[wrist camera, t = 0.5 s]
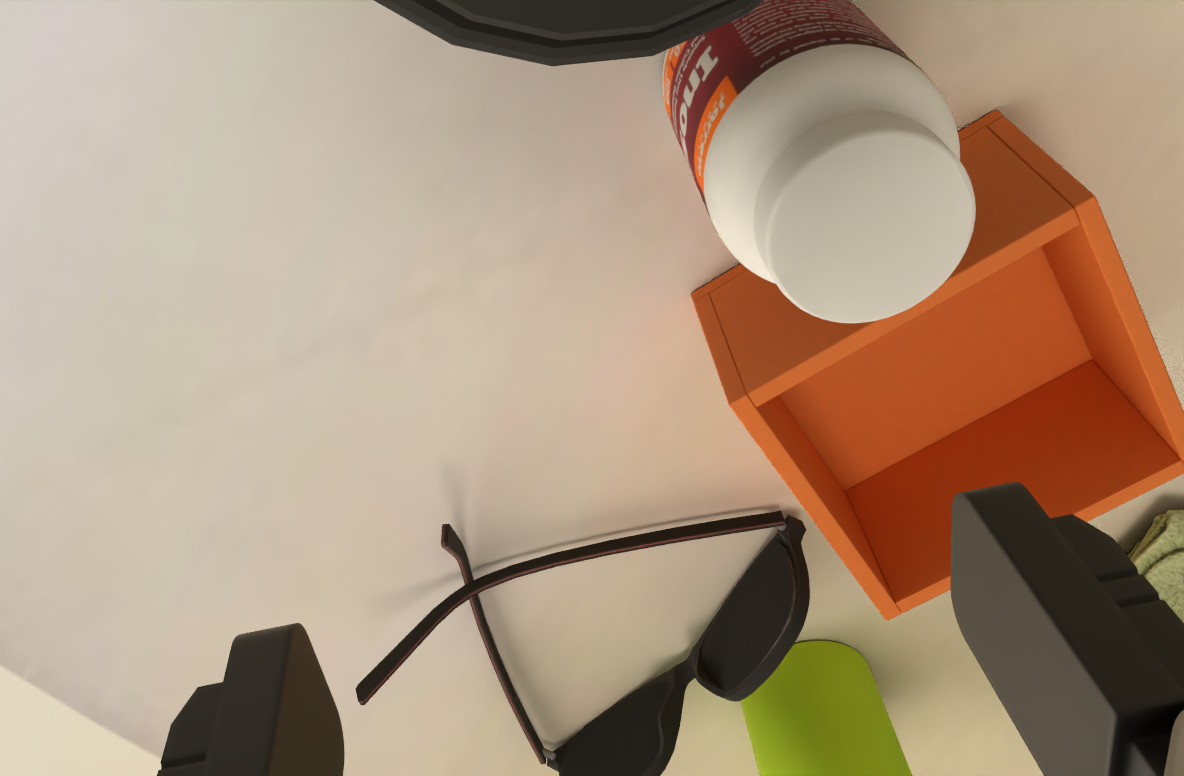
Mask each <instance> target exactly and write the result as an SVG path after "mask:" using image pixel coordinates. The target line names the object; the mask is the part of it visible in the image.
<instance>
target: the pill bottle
mask: <svg viewBox="0 0 1184 776" xmlns="http://www.w3.org/2000/svg"><path fill="white" fill-rule="evenodd" d="M662 89H663V97H664V103H665V107H666V110H667V114H668V117H669V120H670V123H671V125H672V128H673V130H674V132H675V134H676V137H677V139H678V142H679V144H680V146H681V148H682V151H683V153H684V156H685V158H686V160H687V162H688V165H689V167H690V170H691V172H692V175H693V177H694V180H695V182H696V185H697V187H698V189H699V192H700V194H701V197H702V199H703V201H704V204H705V206H706V208H707V211H708V214H709V216H710V219H711V220H712V222H713V225H714V227H715V229H716V231H717V233H718V234H719V236H720V238H721V239H722V241H723V242H724V244H725V246H726V247H727V248H728V249H729V251H730V252H731V253H732V255H733V256H734V257H735V258H736V259H737V260H738V261H739V262H740V263H741V264H743V265H744V266H745V267H746V268H747V269H749V270H750V271H751V272H753V273H755V274H756V275H758V276H760V277H762V278H763V279H766V280H768V281H770V282H772V283H775V284H777V286H778V287H779V289H780V290H781V292H782V293H783V294H784V295H785V296H786V297H787V298H788V299H789V300H790V301H791V302H792V303H793V304H795V305H796V306H797V307H799V308H800V309H801V310H803V311H805V312H807V313H809V314H811V315H813V316H816V317H818V318H821V319H824V320H828V321H832V322H839V323H863V322H872V321H876V320H880V319H884V318H888V317H891V316H893V315H896V314H898V313H900V312H903V311H905V310H908V309H909V308H911V307H913V306H915V305H916V304H918V303H919V302H921V301H923V300H924V299H925V298H927V297H928V296H929V295H931V294H932V293H933V292H934V291H935V290H937V289H938V288H939V287H940V286H941V285H942V284H943V283H944V282H945V281H946V280H947V279H948V277H949V276H950V275H951V274H952V272H953V271H954V270H955V268H956V267H957V265H958V264H959V262H960V261H961V259H962V257H963V256H964V254H965V252H966V250H967V248H968V245H969V242H970V239H971V236H972V233H973V229H974V223H975V215H976V205H975V196H974V191H973V187H972V184H971V180H970V178H969V176H968V174H967V172H966V170H965V168H964V166H963V165H962V163H961V162H960V144H959V136H958V132H957V127H956V124H955V121H954V118H953V115H952V113H951V110H950V108H949V105H948V103H947V102H946V100H945V98H944V97H943V95H942V93H941V92H940V91H939V89H938V88H937V87H936V86H935V84H934V83H933V82H932V81H931V79H930V78H929V77H928V76H927V75H926V74H925V73H924V72H923V71H922V70H921V68H919V67H918V66H917V65H916V64H915V63H914V62H913V61H912V60H911V59H910V58H908V56H907V55H906V54H905V53H904V52H903V51H902V50H901V49H900V48H899V47H897V46H896V45H895V44H894V43H893V42H892V41H891V40H890V39H889V38H888V37H887V36H886V35H885V34H884V33H883V32H882V31H881V30H880V29H879V28H878V27H877V26H876V25H875V24H874V23H873V22H872V21H871V20H870V19H869V18H868V17H867V16H866V15H865V14H864V13H863V12H862V11H861V10H860V9H859V8H857V7H856V6H855V5H854V4H853V3H852V2H851V1H850V0H764V1H763V2H761V3H760V4H759V5H758V6H757V7H755V8H754V9H753V10H752V11H751V12H750V13H748V14H747V15H745V16H743V17H741V18H738V19H736V20H734V21H732V22H729V23H727V24H725V25H722V26H720V27H718V28H715V29H713V30H711V31H709V32H706V33H704V34H702V35H699V36H697V37H695V38H692V39H690V40H688V41H685V42H683V43H681V44H679V45H676V46H674V47H672V48H669V49H667V50H666V53H665V58H664V63H663V71H662Z"/></svg>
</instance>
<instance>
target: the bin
mask: <svg viewBox="0 0 1184 776" xmlns="http://www.w3.org/2000/svg"><path fill="white" fill-rule="evenodd" d="M958 136H959V144H960V162H961V163H962V165H963V166H964V168H965V170H966V172H967V174H968V176H969V178H970V180H971V184H972V187H973V191H974V196H975V205H976V215H975V223H974V229H973V233H972V236H971V239H970V242H969V245H968V248H967V250H966V252H965V254H964V256H963V257H962V259H961V261H960V262H959V264H958V265H957V267H956V268H955V270H954V271H953V272H952V274H951V275H950V276H949V277H948V279H947V280H946V281H945V282H944V283H943V284H942V285H941V286H940V287H939V288H938V289H937V290H935V291H934V292H933V293H932V294H931V295H929V296H928V297H927V298H925V299H924V300H923V301H921V302H919V303H918V304H916V305H915V306H913V307H911V308H909V309H908V310H905V311H903V312H900V313H898V314H896V315H893V316H891V317H888V318H884V319H880V320H876V321H872V322H863V323H839V322H832V321H828V320H824V319H821V318H818V317H816V316H813V315H811V314H809V313H807V312H805V311H803V310H801V309H800V308H799V307H797V306H796V305H795V304H793V303H792V302H791V301H790V300H789V299H788V298H787V297H786V296H785V295H784V294H783V293H782V292H781V290H780V289H779V287H778V286H777V284H775V283H772V282H770V281H768V280H766V279H763V278H762V277H760V276H758V275H756V274H755V273H753V272H751V271H750V270H749V269H747V268H746V267H745V266H744V265H743V264H739V265H738V266H736V267H734V268H733V269H731V270H730V271H728V272H726V273H725V274H723V275H721V276H720V277H718V278H716V279H715V280H713V281H711V282H710V283H708V284H706V285H705V286H703V287H701V288H700V289H698V290H696V291H695V292H693V293H692V294H691V297H692V300H693V302H694V306H695V309H696V311H697V314H698V317H699V320H700V323H701V326H702V329H703V332H704V334H705V337H706V340H707V343H708V346H709V349H710V352H711V355H712V358H713V360H714V363H715V366H716V369H717V372H718V375H719V378H720V381H721V384H722V386H723V389H724V392H725V395H726V398H727V401H728V404H729V406H730V407H731V409H732V410H733V411H734V413H735V414H736V416H737V417H738V418H739V420H740V421H741V422H742V424H743V425H744V426H745V428H746V429H747V431H748V432H749V433H750V435H751V436H752V437H753V439H754V440H755V442H756V443H757V444H758V446H759V447H760V448H761V450H762V451H763V453H764V454H765V455H766V457H767V458H768V459H769V461H770V462H771V463H772V465H773V466H774V468H775V469H776V470H777V472H778V473H779V474H780V476H781V477H782V479H783V480H784V481H785V483H786V484H787V485H788V487H789V488H790V489H791V491H792V492H793V494H794V495H795V496H796V498H797V499H798V500H799V502H800V503H801V505H802V506H803V507H804V509H805V510H806V511H807V513H808V514H809V516H810V517H811V518H812V520H813V521H814V522H815V524H816V525H817V526H818V528H819V529H820V531H821V532H822V533H823V535H824V536H825V537H826V539H827V540H828V542H829V543H830V544H831V546H832V547H833V548H834V550H835V551H836V553H837V554H838V555H839V557H840V558H841V559H842V561H843V562H844V563H845V565H846V566H847V568H848V569H849V570H850V572H851V573H852V574H853V576H854V577H855V579H856V580H857V581H858V583H859V584H860V585H861V587H862V588H863V590H864V591H865V592H866V594H867V595H868V596H869V598H870V599H871V600H872V602H873V603H874V605H875V606H876V607H877V609H878V610H879V611H880V613H881V614H882V616H883V617H884V618H885V620H890V619H892V618H894V617H896V616H898V615H900V614H901V612H902V613H904V612H906V611H908V610H910V609H912V608H914V607H916V606H918V605H920V604H922V603H924V602H926V601H928V600H930V599H932V598H934V597H936V596H938V595H940V594H942V593H944V592H946V591H948V590H950V589H951V525H952V502H953V498H954V496H955V495H956V494H957V493H960V492H965V491H970V490H975V489H980V488H985V487H990V486H995V485H1000V484H1005V483H1010V482H1020V483H1021V484H1023V485H1024V486H1025V487H1026V488H1027V489H1028V491H1029V492H1030V493H1031V494H1032V496H1033V497H1034V498H1035V500H1036V501H1037V502H1038V503H1039V505H1040V506H1041V507H1042V509H1043V510H1044V511H1045V512H1046V514H1047V515H1048V516H1049V517H1050V518H1054V517H1059V516H1064V515H1069V514H1073V515H1075V516H1077V517H1078V518H1080V519H1082V520H1083V521H1085V522H1087V521H1089V520H1091V519H1093V518H1095V517H1097V516H1099V515H1101V514H1103V513H1105V512H1107V511H1109V510H1111V509H1113V508H1115V507H1117V506H1119V505H1121V504H1123V503H1125V502H1127V501H1129V500H1131V499H1133V498H1135V497H1137V496H1139V495H1141V494H1143V493H1145V492H1147V491H1149V490H1151V489H1153V488H1155V487H1157V486H1159V485H1161V484H1164V483H1166V482H1168V481H1170V480H1172V479H1174V478H1176V477H1178V476H1180V475H1182V474H1184V411H1183V409H1182V406H1181V404H1180V402H1179V399H1178V397H1177V394H1176V392H1175V389H1174V387H1173V384H1172V382H1171V380H1170V377H1169V375H1168V372H1167V370H1166V367H1165V365H1164V363H1163V360H1162V358H1161V355H1160V353H1159V350H1158V348H1157V345H1156V343H1155V341H1154V338H1153V336H1152V333H1151V331H1150V328H1149V326H1148V323H1147V321H1146V319H1145V316H1144V314H1143V311H1142V309H1141V306H1140V304H1139V302H1138V299H1137V297H1136V294H1135V292H1134V289H1133V287H1132V284H1131V282H1130V280H1129V277H1128V275H1127V272H1126V270H1125V267H1124V265H1123V262H1122V260H1121V258H1120V255H1119V253H1118V250H1117V248H1116V245H1115V243H1114V241H1113V238H1112V236H1111V233H1110V231H1109V228H1108V226H1107V223H1106V221H1105V219H1104V216H1103V214H1102V211H1101V209H1100V206H1099V204H1098V201H1097V199H1096V197H1095V196H1094V195H1093V194H1092V193H1091V192H1090V191H1089V190H1088V189H1086V188H1085V187H1084V186H1083V185H1082V184H1081V183H1080V182H1078V181H1077V180H1076V179H1075V178H1074V177H1073V176H1072V175H1070V174H1069V173H1068V172H1067V171H1066V170H1065V169H1064V168H1062V167H1061V166H1060V165H1059V164H1058V163H1057V162H1056V161H1054V160H1053V159H1052V158H1051V157H1050V156H1049V155H1048V154H1046V153H1045V152H1044V151H1043V150H1042V149H1041V148H1040V147H1038V146H1037V145H1036V144H1035V143H1034V142H1033V141H1032V140H1030V139H1029V138H1028V137H1027V136H1026V135H1025V134H1024V133H1022V132H1021V131H1020V130H1019V129H1018V128H1017V127H1016V126H1014V125H1013V124H1012V123H1011V122H1010V121H1009V120H1008V119H1007V118H1005V117H1004V116H1003V115H1002V114H1001V113H1000V112H999V111H997V110H994V111H993V112H991V113H989V114H988V115H986V116H984V117H983V118H981V119H979V120H978V121H976V122H974V123H973V124H971V125H969V126H968V127H966V128H964V129H963V130H961V131H959V132H958Z"/></svg>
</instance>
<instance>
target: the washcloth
mask: <svg viewBox="0 0 1184 776" xmlns="http://www.w3.org/2000/svg"><path fill="white" fill-rule="evenodd" d="M1127 556H1128V557H1129V559H1130V560H1131V561H1132V562H1133V563H1134V564H1135V566H1136V567H1137V569H1138V573H1139V575H1141V574H1143V575H1144V576H1145V578H1146V579H1147V580H1148V581H1149V582H1150V584H1151V585H1152V586H1153V587H1154V588H1155V590H1156V591H1157V592H1158V593H1159V598H1160V600H1165V601H1166V603H1167V604H1168V605H1169V606H1170V607H1171V609H1172V610H1173V611H1174V612H1175V613H1176V615H1177V616H1178V617H1179V618H1180V619H1181V620H1182V622H1183V623H1184V509H1183V510H1168V511H1167V513H1166V514H1159V515H1158V516H1156V518H1155V519H1154V520H1153V524H1152V526H1151V527H1150V528H1149V530H1148V532H1147V534H1146V535H1145V537H1144V539H1143V540H1142V541H1139V542H1137V543H1136V544H1135V547H1134V549H1133V550H1132V551H1131V552H1130V554H1128V555H1127Z"/></svg>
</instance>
